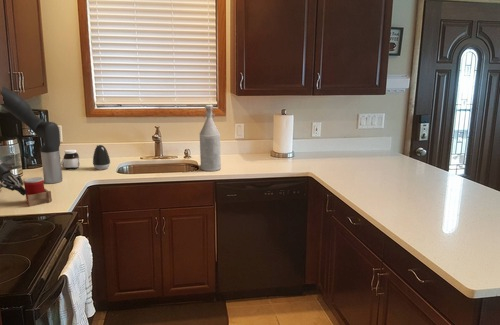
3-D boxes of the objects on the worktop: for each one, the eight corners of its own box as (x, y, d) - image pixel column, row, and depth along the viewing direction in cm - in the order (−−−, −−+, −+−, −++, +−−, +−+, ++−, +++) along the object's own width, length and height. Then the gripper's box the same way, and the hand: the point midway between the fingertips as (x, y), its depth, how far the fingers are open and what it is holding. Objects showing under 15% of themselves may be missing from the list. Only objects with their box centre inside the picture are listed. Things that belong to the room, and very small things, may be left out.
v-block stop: (42, 197, 200) (41, 187, 199) (57, 197, 200) (56, 187, 199) (27, 206, 187) (26, 195, 186) (43, 206, 187) (42, 195, 186)
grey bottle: (218, 164, 268) (217, 103, 259) (222, 171, 251) (221, 105, 243) (198, 165, 265) (196, 103, 256) (202, 172, 248) (200, 106, 240)
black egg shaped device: (106, 166, 265) (104, 142, 261) (113, 169, 257) (111, 145, 254) (90, 168, 258) (88, 144, 255) (96, 171, 251) (94, 147, 247)
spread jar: (74, 170, 254) (73, 151, 252) (56, 170, 254) (54, 151, 252) (83, 166, 266) (81, 148, 263) (65, 166, 266) (63, 148, 263)
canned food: (48, 201, 194) (46, 178, 192) (31, 205, 188) (28, 182, 186) (41, 198, 199) (38, 176, 196) (23, 202, 193) (20, 179, 190)
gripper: (-8, 165, 183) (22, 192, 185) (10, 159, 196) (38, 184, 198) (-18, 177, 184) (12, 203, 187) (0, 170, 197) (28, 195, 200)
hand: (25, 193), depth 192 cm, fingers closed
